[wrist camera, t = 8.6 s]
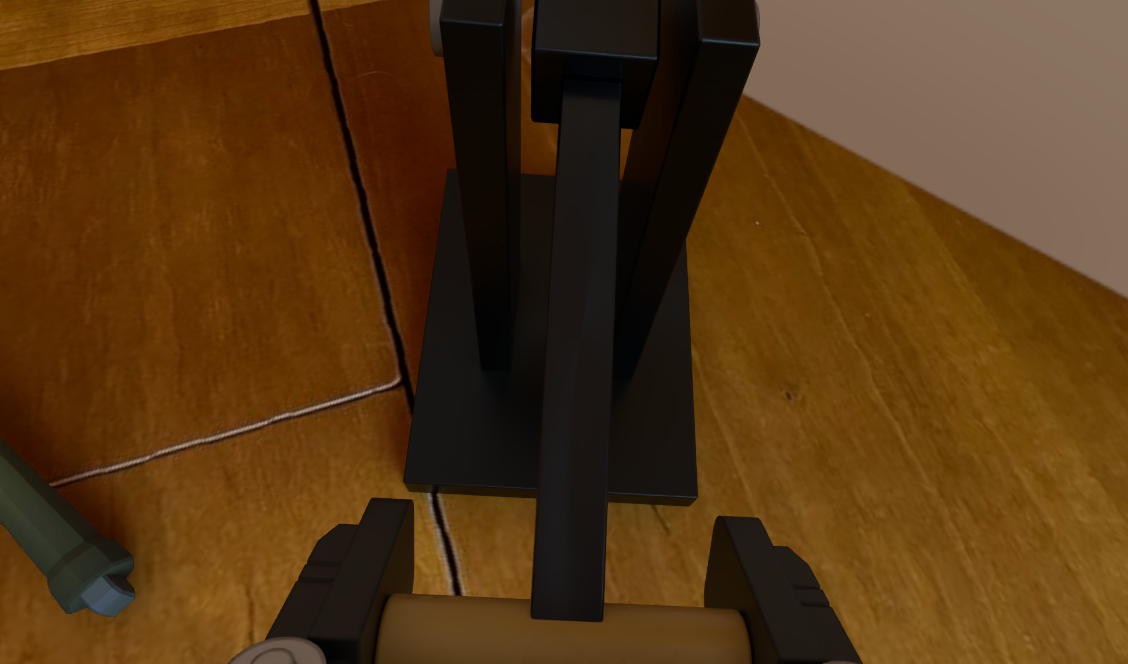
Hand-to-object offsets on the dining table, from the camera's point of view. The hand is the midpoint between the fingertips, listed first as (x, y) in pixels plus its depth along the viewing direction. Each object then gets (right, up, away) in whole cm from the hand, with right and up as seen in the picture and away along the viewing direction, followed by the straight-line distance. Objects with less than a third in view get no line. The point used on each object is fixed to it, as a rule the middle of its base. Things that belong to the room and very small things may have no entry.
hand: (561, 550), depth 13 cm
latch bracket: (0, +4, +12) cm, 13 cm away
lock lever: (0, +4, 0) cm, 5 cm away
